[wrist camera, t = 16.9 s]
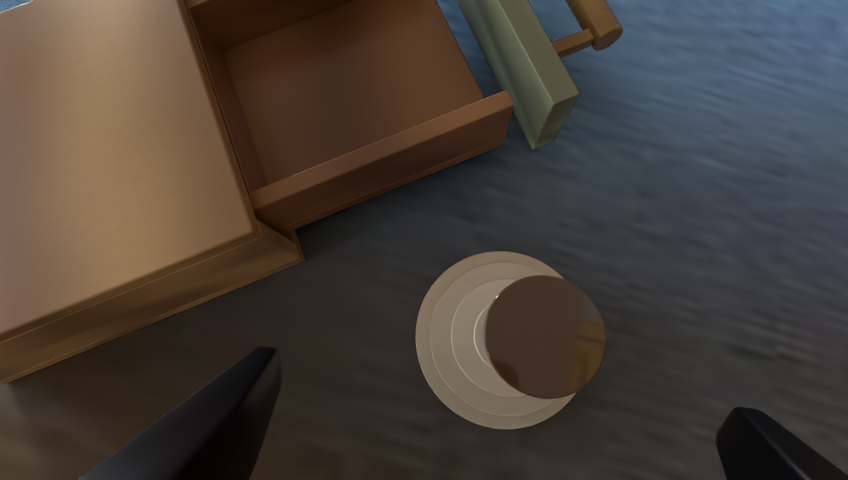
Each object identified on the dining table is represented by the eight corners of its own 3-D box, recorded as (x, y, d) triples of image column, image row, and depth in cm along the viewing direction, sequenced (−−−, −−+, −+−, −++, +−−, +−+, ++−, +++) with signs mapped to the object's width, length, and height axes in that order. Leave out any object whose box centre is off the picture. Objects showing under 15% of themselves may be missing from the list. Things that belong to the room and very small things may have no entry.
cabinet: (229, 44, 25) (161, -49, 19) (306, 260, 22) (254, 232, 16) (-36, 145, 24) (-193, 82, 18) (5, 383, 21) (-167, 402, 15)
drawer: (522, -73, 24) (538, -157, 20) (628, 110, 22) (672, 56, 18) (210, 47, 24) (160, -16, 19) (280, 252, 21) (239, 231, 17)
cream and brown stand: (588, 260, 21) (696, 202, 12) (585, 436, 19) (709, 523, 10) (424, 246, 22) (410, 180, 13) (407, 416, 20) (376, 482, 11)
